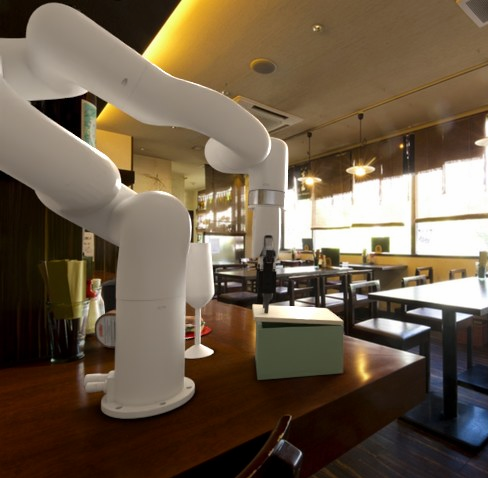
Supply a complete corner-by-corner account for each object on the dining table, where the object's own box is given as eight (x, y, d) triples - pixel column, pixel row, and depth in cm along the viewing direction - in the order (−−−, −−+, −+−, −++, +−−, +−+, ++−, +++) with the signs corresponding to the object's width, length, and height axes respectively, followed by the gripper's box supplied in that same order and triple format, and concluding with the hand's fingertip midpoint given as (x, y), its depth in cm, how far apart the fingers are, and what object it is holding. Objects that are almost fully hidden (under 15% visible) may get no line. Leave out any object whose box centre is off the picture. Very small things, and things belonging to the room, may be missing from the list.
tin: (162, 347, 75) (163, 310, 76) (154, 351, 72) (155, 313, 72) (101, 344, 77) (102, 308, 77) (91, 348, 74) (92, 311, 74)
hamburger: (158, 328, 92) (159, 307, 92) (211, 325, 96) (211, 305, 97) (148, 342, 79) (149, 317, 79) (210, 338, 83) (210, 314, 83)
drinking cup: (95, 340, 80) (96, 258, 81) (106, 332, 88) (107, 257, 88) (129, 338, 82) (131, 258, 83) (138, 330, 90) (139, 257, 90)
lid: (253, 321, 57) (256, 292, 58) (252, 308, 70) (254, 284, 70) (343, 325, 61) (345, 298, 61) (326, 311, 73) (328, 289, 73)
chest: (257, 380, 57) (258, 329, 57) (255, 356, 70) (255, 314, 70) (343, 373, 61) (343, 325, 61) (326, 351, 73) (326, 312, 73)
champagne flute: (173, 356, 69) (175, 242, 70) (194, 347, 76) (196, 243, 76) (200, 359, 67) (202, 242, 68) (219, 350, 74) (221, 243, 74)
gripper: (247, 207, 72) (245, 285, 71) (248, 194, 55) (245, 296, 55) (281, 208, 74) (279, 285, 73) (293, 197, 57) (290, 296, 56)
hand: (265, 290), depth 64 cm, fingers open, 9 cm apart
